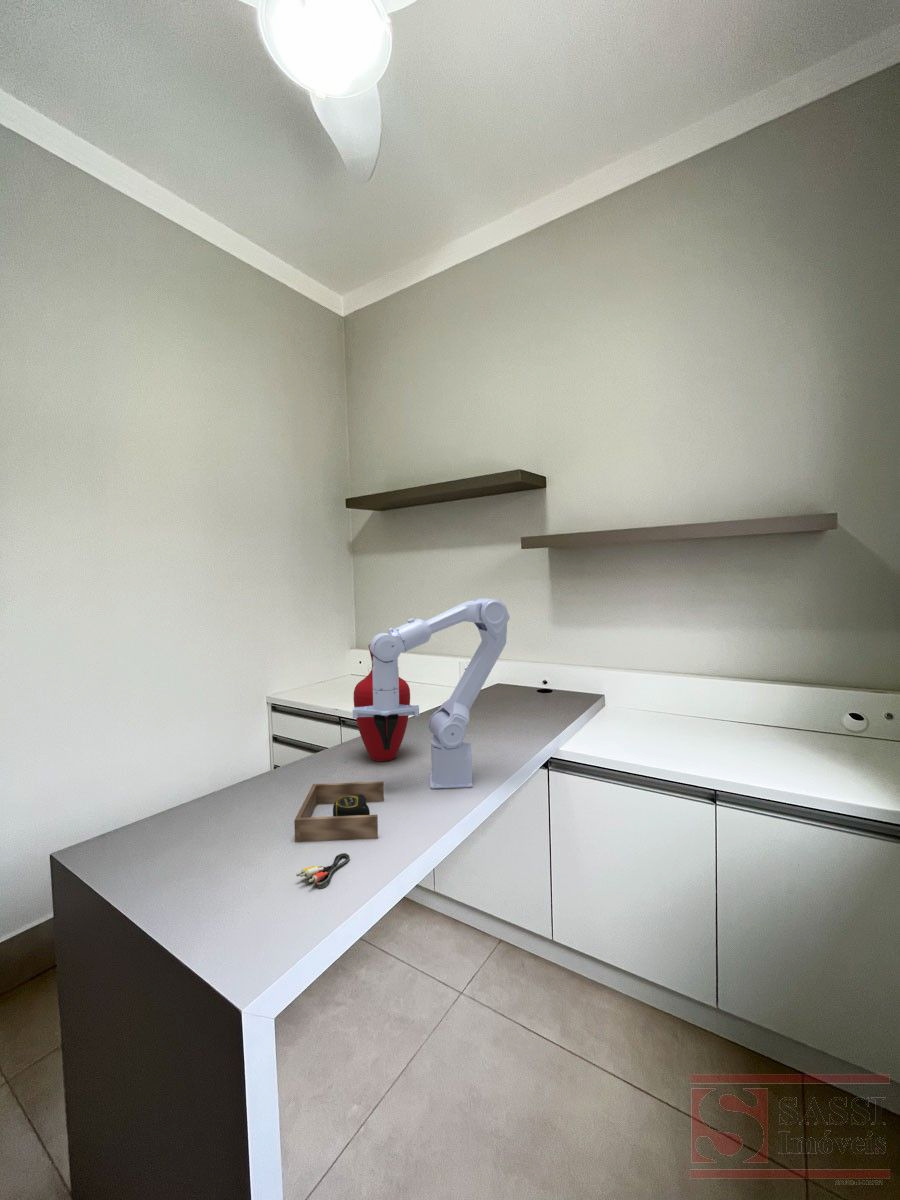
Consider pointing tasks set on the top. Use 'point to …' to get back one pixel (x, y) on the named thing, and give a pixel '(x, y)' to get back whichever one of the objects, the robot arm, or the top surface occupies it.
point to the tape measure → (351, 806)
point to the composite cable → (323, 871)
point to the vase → (366, 724)
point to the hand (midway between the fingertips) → (387, 748)
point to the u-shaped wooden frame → (337, 825)
